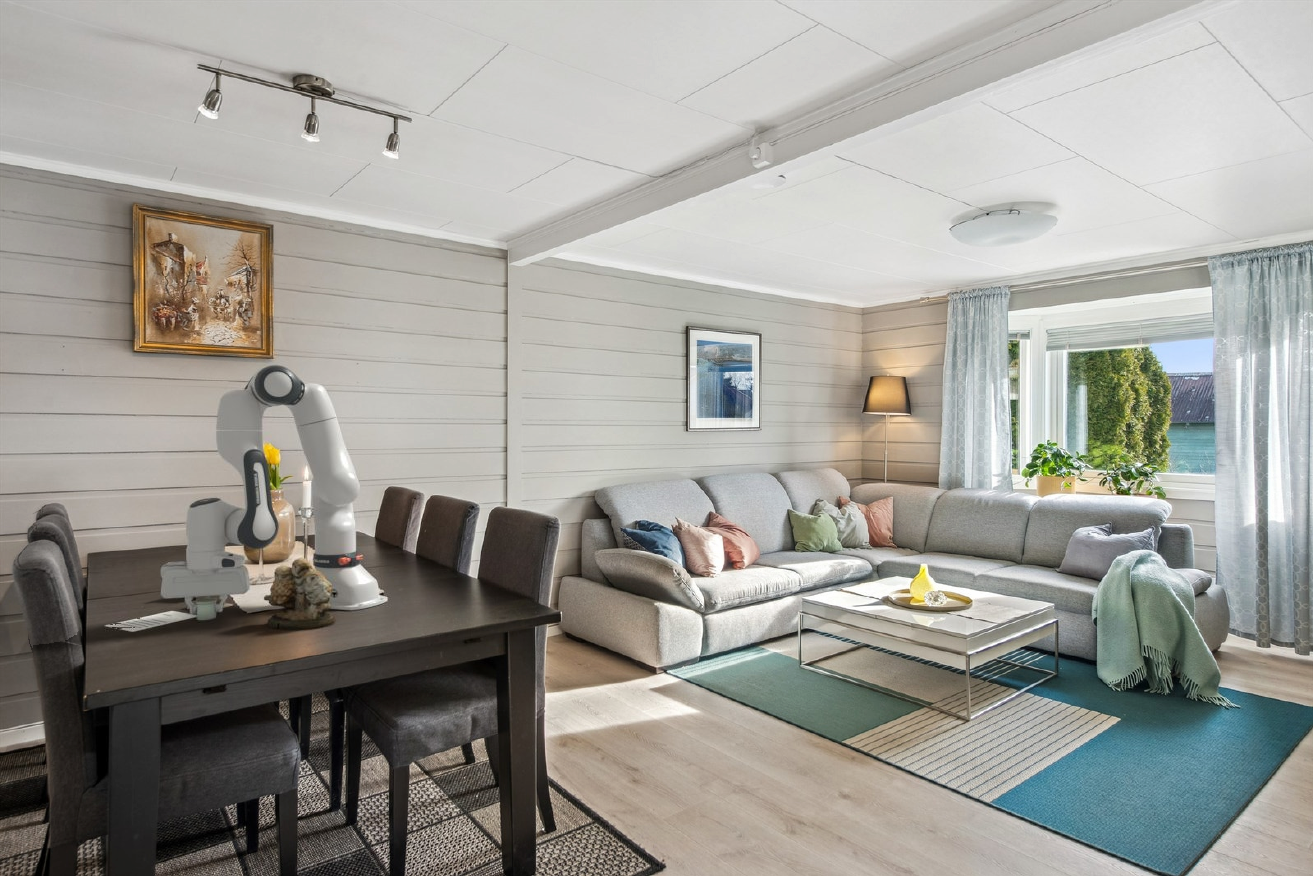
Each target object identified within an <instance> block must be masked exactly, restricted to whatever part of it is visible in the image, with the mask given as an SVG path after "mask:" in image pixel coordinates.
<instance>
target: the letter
mask: <svg viewBox="0 0 1313 876" xmlns="http://www.w3.org/2000/svg"><path fill="white" fill-rule="evenodd" d="M139 618H140V619H137V618H133V619H128V620H124V621H120V622H118V623H121V624H116V625H115V624H114V623H112V624H113V625H110V624H106V625H104V627H108V628H112V627H132V628H122V629H120V630H123V631H126V632H127V631H128V632H137V631H142V630H146V629H152V628H154V627H158V626H164V625H168V624H171V623H172V624H173V623H176V622H180V621H185V620H188V619H189V620H190V619H193V618H197V614H190V613H187V612H180V611H175V610H170V611H166V612H165V611H164V612H159V613H156V614H152V615H148V616H143V617H142V616H141V617H139ZM133 627H135V628H133Z"/></svg>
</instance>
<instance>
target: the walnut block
mask: <svg viewBox="0 0 1313 876" xmlns="http://www.w3.org/2000/svg"><path fill="white" fill-rule="evenodd" d="M206 598H215V599H216V605H217V604H220V602H221V600H222V599H220V595H217V596H199V597H196V598H195V600H196V601H197V600H200V599H206ZM195 605H196V606H197V604H196V603H195ZM223 605H224V604H223Z"/></svg>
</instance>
